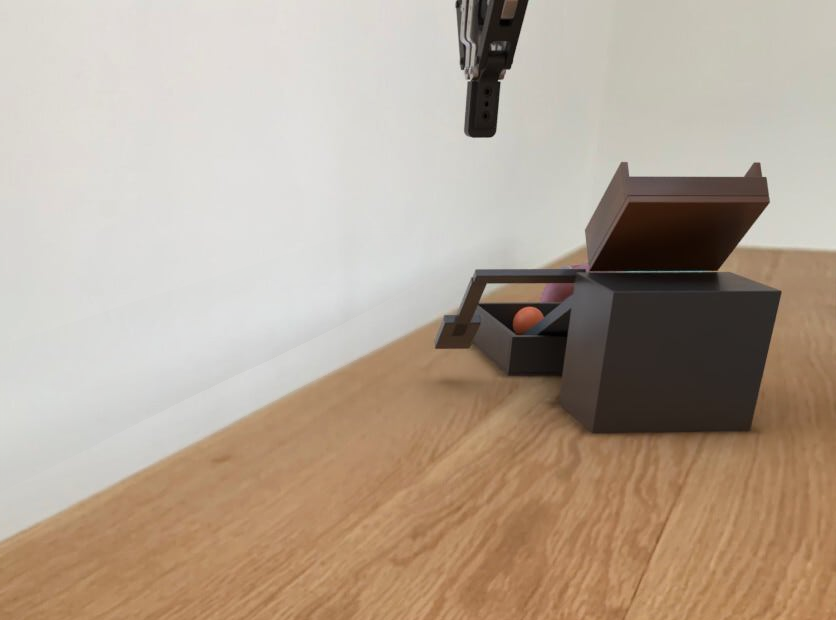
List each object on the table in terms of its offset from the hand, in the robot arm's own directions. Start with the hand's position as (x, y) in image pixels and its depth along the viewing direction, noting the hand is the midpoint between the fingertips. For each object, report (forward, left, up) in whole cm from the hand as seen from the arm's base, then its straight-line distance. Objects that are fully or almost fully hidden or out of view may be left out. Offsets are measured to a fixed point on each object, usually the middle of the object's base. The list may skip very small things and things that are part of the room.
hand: (479, 136), depth 85 cm
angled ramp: (-12, -2, -19) cm, 22 cm away
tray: (-11, -10, -19) cm, 24 cm away
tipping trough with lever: (-8, +6, -9) cm, 14 cm away
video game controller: (-17, -27, -19) cm, 37 cm away
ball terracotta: (-9, -16, -17) cm, 24 cm away
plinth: (-13, +11, -19) cm, 25 cm away
